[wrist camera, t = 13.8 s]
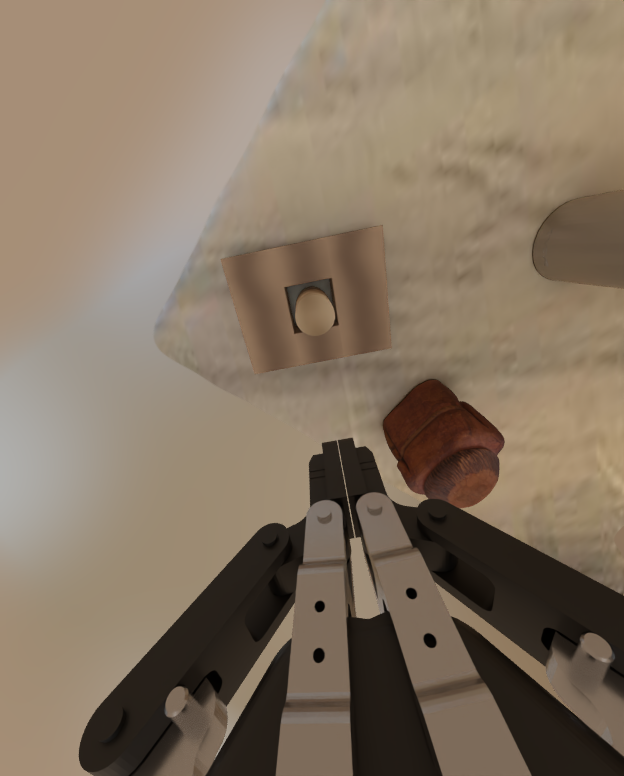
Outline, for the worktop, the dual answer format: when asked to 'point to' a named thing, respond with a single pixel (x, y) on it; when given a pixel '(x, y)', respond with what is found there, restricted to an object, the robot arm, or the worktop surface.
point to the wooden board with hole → (302, 265)
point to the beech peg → (314, 311)
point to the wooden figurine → (444, 446)
